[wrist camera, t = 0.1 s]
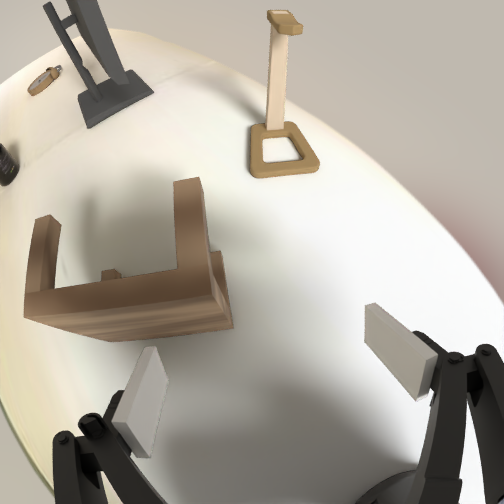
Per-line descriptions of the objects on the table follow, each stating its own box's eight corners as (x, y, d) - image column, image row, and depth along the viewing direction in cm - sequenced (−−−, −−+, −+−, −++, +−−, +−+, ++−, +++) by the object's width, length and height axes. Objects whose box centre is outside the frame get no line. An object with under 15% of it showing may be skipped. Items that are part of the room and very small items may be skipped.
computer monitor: (178, 119, 45) (134, -81, 9) (101, 163, 42) (8, -26, 5) (121, 60, 60) (91, -45, 23) (74, 86, 56) (31, -16, 19)
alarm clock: (25, 89, 58) (53, 60, 60) (31, 96, 63) (59, 67, 65) (29, 94, 55) (60, 62, 57) (37, 101, 60) (67, 70, 62)
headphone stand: (251, 180, 39) (248, 39, 19) (241, 131, 44) (234, 11, 23) (320, 172, 40) (354, 42, 19) (301, 125, 44) (317, 11, 24)
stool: (233, 328, 31) (212, 294, 16) (110, 342, 30) (23, 317, 16) (222, 256, 35) (199, 176, 20) (108, 276, 34) (35, 219, 19)
